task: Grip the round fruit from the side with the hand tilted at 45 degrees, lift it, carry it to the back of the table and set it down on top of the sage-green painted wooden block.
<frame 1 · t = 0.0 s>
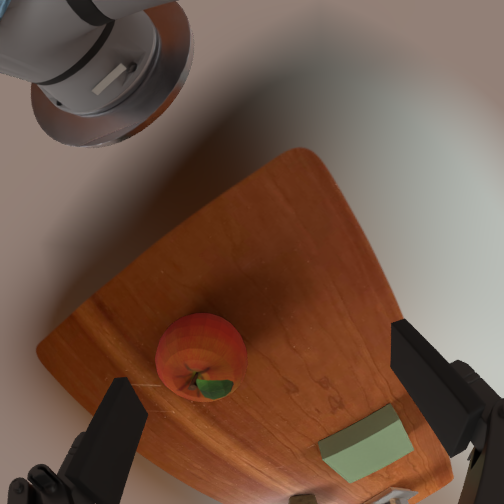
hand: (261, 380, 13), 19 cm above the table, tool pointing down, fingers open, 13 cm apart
fruit: (206, 336, 33), on the table
desk lamp: (380, 500, 48), on the table
stone block: (299, 502, 45), on the table
green block: (366, 439, 39), on the table
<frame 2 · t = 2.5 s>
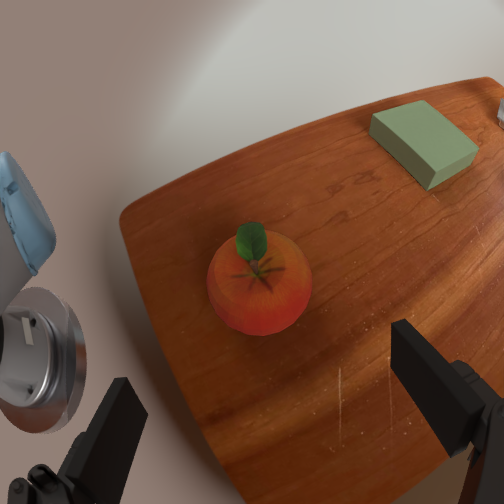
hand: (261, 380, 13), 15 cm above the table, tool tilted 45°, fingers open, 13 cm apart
fruit: (263, 299, 30), on the table
green block: (422, 148, 38), on the table
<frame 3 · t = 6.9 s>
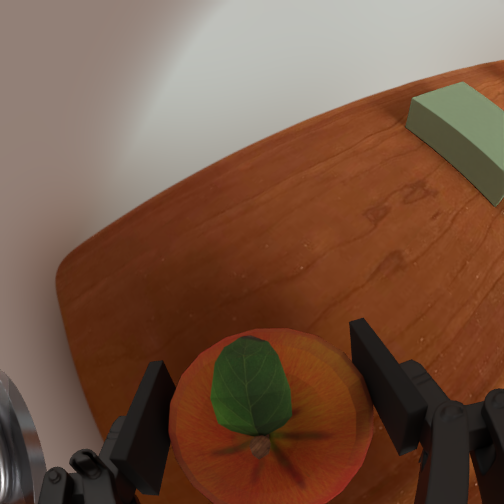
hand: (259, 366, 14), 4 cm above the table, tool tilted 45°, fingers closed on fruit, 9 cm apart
fruit: (276, 420, 16), on the table, touching gripper
green block: (474, 145, 24), on the table
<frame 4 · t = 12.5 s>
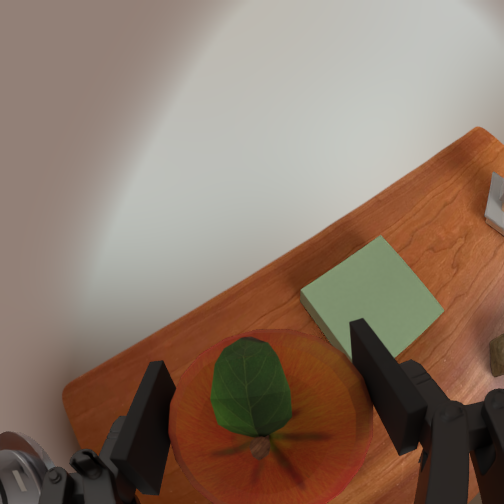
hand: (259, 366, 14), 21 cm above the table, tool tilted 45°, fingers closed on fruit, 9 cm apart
fruit: (276, 421, 16), point 17 cm above the table, touching gripper
green block: (369, 311, 35), on the table
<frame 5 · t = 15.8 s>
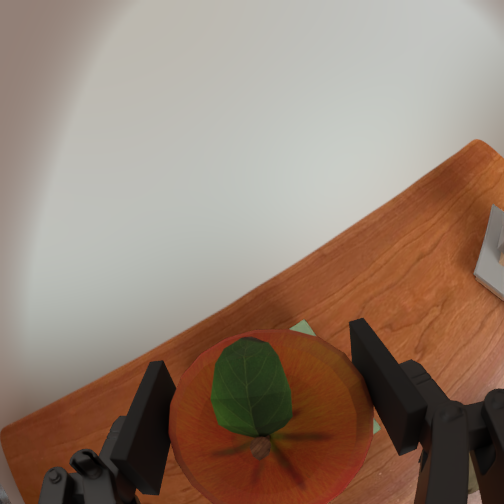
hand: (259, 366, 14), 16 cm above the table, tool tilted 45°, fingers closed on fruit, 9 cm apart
fruit: (277, 421, 16), point 12 cm above the table, touching gripper
stone block: (480, 455, 19), on the table
when the fingers open (8 cm above the table, at t = 18.5 s): fruit stays where it is, resting on green block.
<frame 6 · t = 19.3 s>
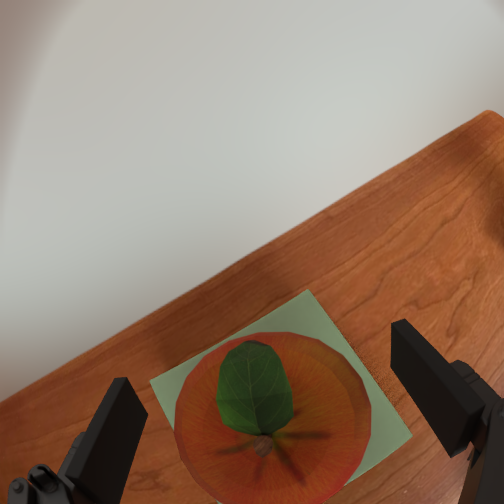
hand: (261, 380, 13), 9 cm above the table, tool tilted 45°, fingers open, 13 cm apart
fruit: (278, 420, 16), point 4 cm above the table, touching green block
green block: (280, 416, 19), on the table
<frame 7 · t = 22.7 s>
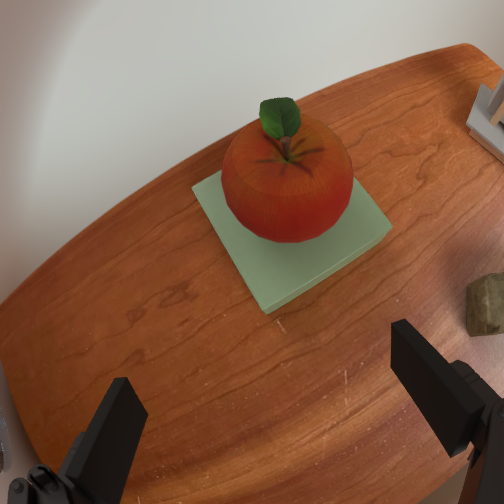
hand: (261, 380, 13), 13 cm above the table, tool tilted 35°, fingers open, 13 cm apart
fruit: (289, 205, 25), point 4 cm above the table, touching green block
stone block: (498, 306, 23), on the table
green block: (290, 221, 28), on the table
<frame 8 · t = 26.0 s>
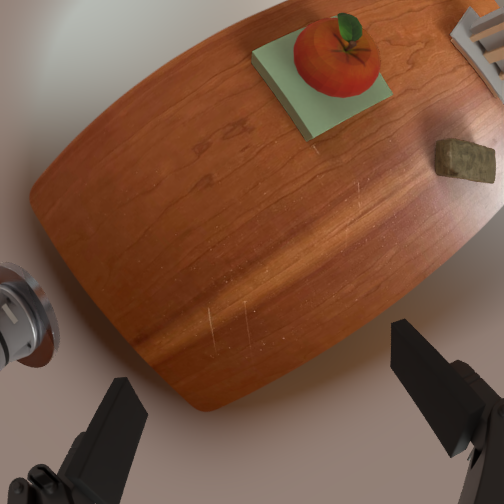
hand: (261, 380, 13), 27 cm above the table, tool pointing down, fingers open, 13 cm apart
fruit: (326, 70, 29), point 4 cm above the table, touching green block
desk lamp: (481, 55, 31), on the table
stone block: (457, 161, 36), on the table
green block: (319, 79, 33), on the table
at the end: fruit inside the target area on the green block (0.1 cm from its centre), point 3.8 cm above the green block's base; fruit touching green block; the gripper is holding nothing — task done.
